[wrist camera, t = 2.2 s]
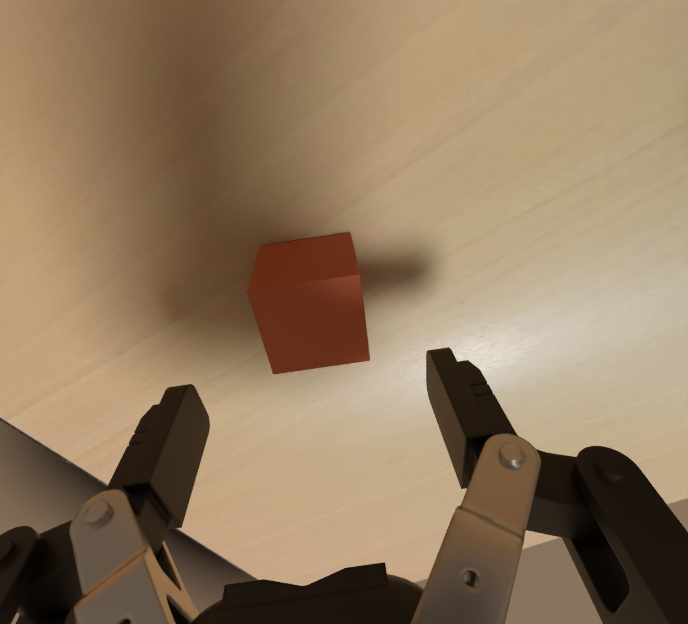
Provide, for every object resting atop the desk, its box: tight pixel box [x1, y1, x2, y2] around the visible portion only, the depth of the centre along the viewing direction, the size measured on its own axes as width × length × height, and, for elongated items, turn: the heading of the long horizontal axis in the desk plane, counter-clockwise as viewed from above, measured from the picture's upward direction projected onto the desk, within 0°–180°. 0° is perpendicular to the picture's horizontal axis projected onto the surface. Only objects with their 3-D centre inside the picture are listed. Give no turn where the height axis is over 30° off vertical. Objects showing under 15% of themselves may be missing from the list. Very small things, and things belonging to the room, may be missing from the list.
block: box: [247, 233, 370, 374], centre depth 17 cm, size 4×4×4 cm
